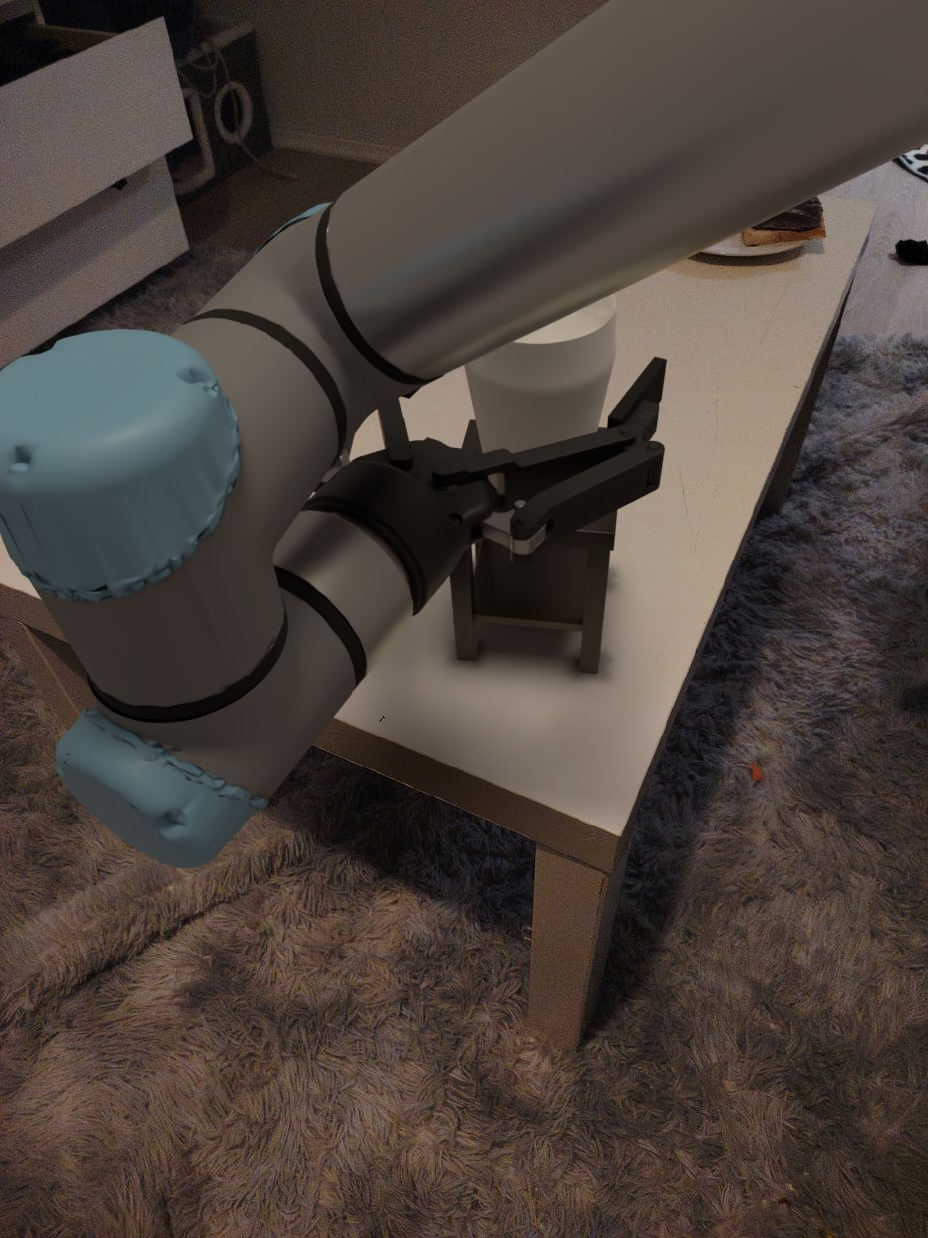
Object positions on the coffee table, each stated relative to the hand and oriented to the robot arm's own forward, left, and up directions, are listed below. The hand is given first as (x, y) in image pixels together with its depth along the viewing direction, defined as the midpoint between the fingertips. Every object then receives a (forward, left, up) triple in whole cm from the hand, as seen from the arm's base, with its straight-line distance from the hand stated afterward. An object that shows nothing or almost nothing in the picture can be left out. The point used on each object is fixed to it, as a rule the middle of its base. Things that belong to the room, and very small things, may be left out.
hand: (553, 351), depth 54 cm
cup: (+1, +2, -8) cm, 8 cm away
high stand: (+1, +2, -22) cm, 22 cm away
